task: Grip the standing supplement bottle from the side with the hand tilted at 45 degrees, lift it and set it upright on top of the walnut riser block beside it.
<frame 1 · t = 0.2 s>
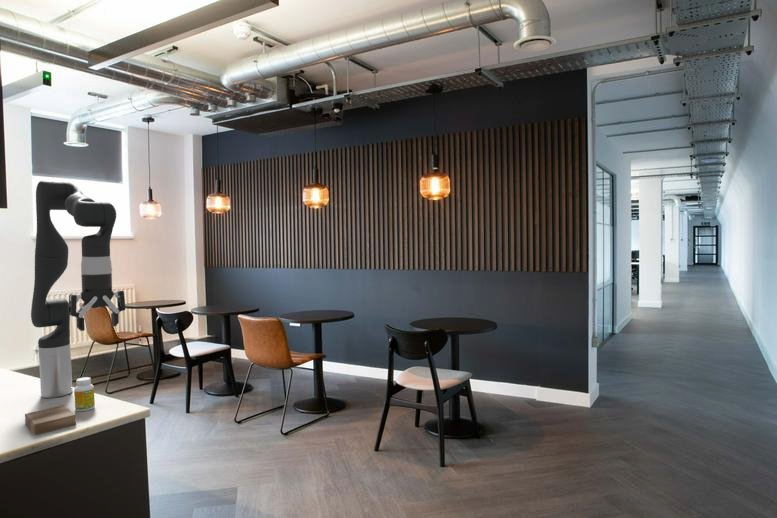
hand: (98, 328, 146), 29 cm above the table, tool pointing down, fingers open, 8 cm apart
walnut riser: (50, 424, 149), on the table
supplement bottle: (85, 409, 162), on the table
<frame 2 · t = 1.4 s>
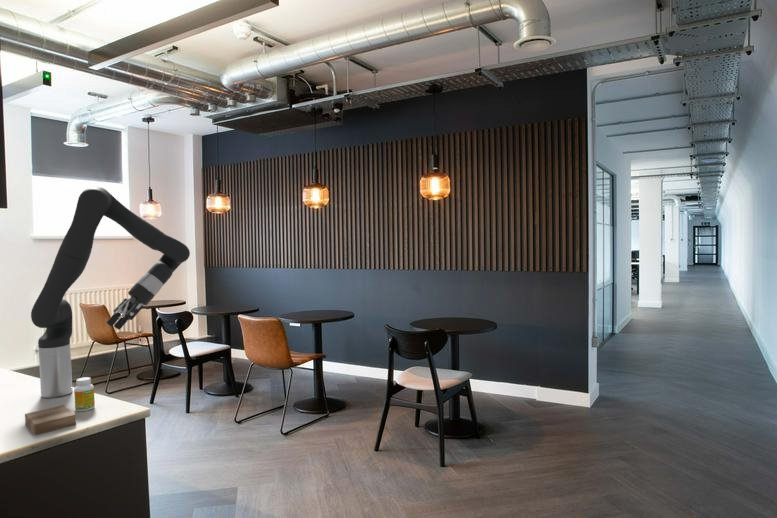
hand: (112, 326, 170), 25 cm above the table, tool tilted 45°, fingers open, 8 cm apart
nothing on the table moved.
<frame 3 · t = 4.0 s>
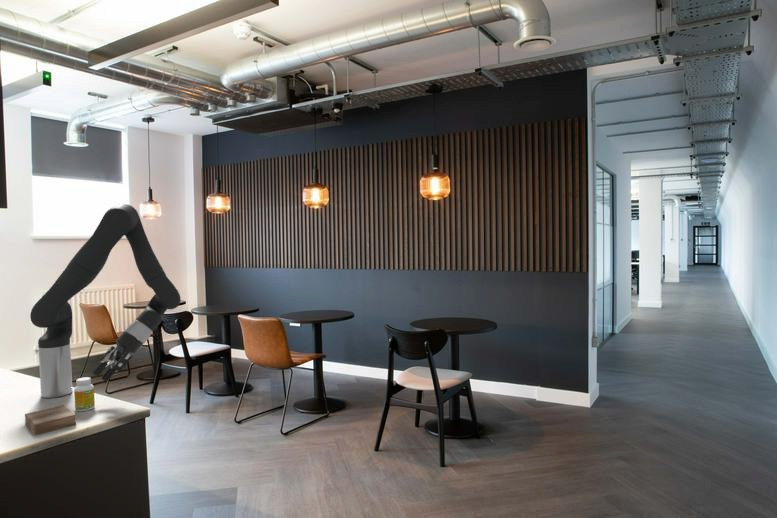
hand: (99, 377, 165), 9 cm above the table, tool tilted 45°, fingers open, 8 cm apart
nothing on the table moved.
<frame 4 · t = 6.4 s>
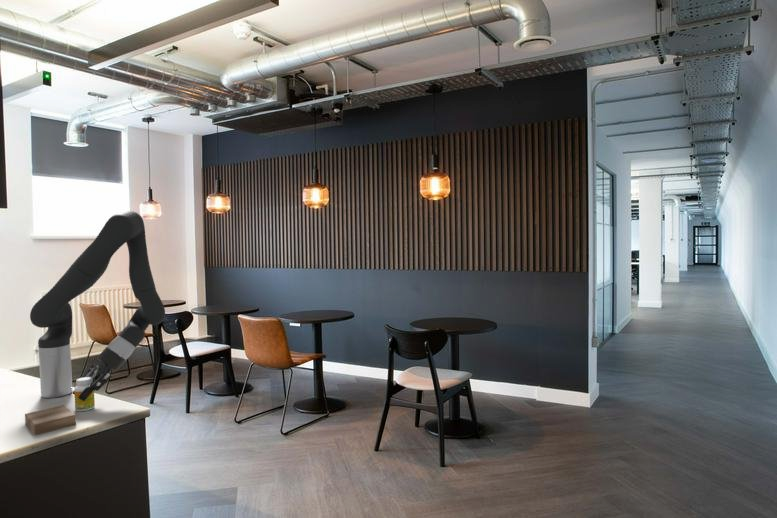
hand: (78, 397, 160), 4 cm above the table, tool tilted 45°, fingers closed on supplement bottle, 5 cm apart
supplement bottle: (85, 409, 162), on the table, touching gripper
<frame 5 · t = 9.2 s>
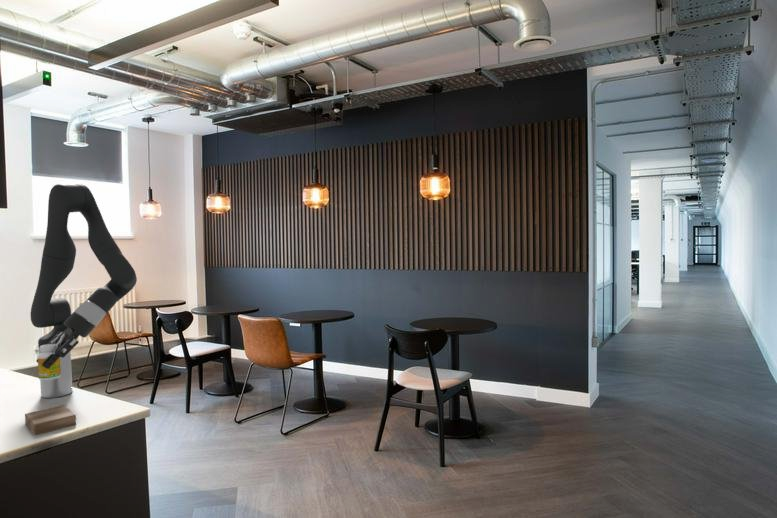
hand: (41, 365, 147), 18 cm above the table, tool tilted 45°, fingers closed on supplement bottle, 5 cm apart
supplement bottle: (50, 378, 149), point 14 cm above the table, touching gripper
when the fingers open (9 cm above the table, at t = 12.3 s): supplement bottle drops 1 cm, resting on walnut riser.
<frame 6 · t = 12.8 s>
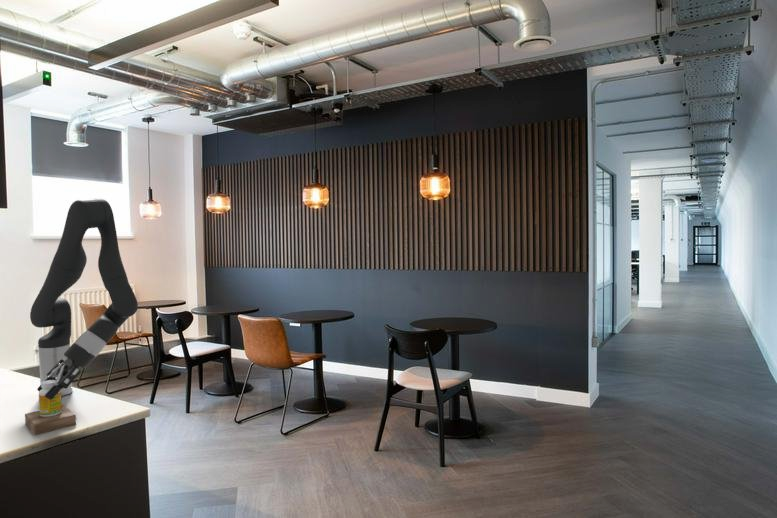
hand: (43, 394, 148), 9 cm above the table, tool tilted 45°, fingers open, 8 cm apart
supplement bottle: (51, 414, 149), point 3 cm above the table, touching walnut riser
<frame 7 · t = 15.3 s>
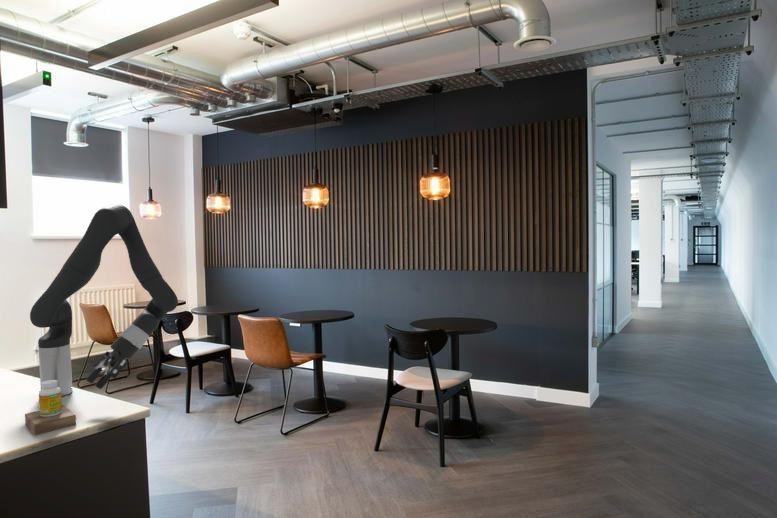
hand: (92, 384, 157), 9 cm above the table, tool tilted 45°, fingers open, 8 cm apart
nothing on the table moved.
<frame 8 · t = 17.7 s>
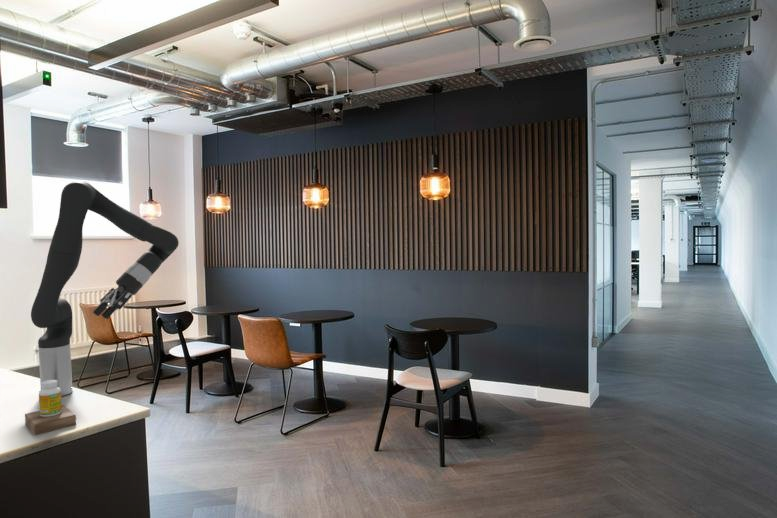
hand: (99, 315, 168), 29 cm above the table, tool tilted 45°, fingers open, 8 cm apart
nothing on the table moved.
at the end: supplement bottle inside the target area on the walnut riser (0.2 cm from its centre), point 2.8 cm above the walnut riser's base; supplement bottle tilted 0°; the gripper is holding nothing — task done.
